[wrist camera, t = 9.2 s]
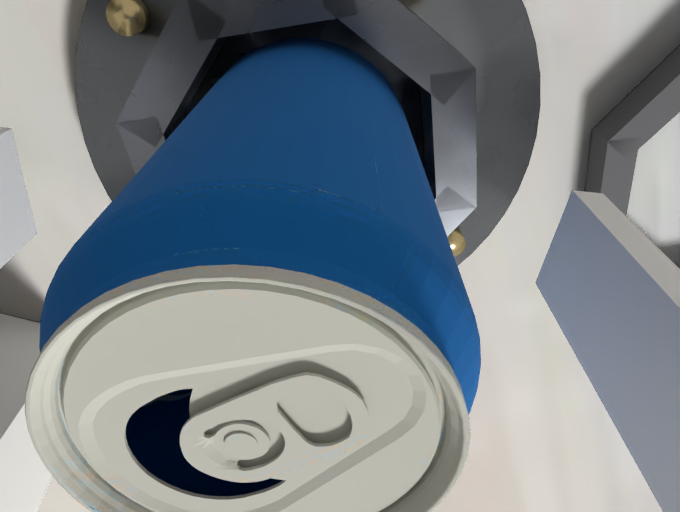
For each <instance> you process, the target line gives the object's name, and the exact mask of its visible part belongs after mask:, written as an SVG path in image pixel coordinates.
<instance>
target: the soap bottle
mask: <svg viewBox="0 0 680 512" xmlns="http://www.w3.org/2000/svg"><path fill="white" fill-rule="evenodd" d="M39 339H40V323H38V322H34V321H30V320H26V319H21V318H17V317H13V316H9V315H5V314H0V512H37V511H38V509H39V507H40V504H41V502H42V500H43V497H44V495H45V493H46V490H47V488H48V486H49V483H50V481H51V479H52V475H51V473H50V472H49V471H48V470H47V468H46V467H45V465H44V463H43V462H42V460H41V458H40V457H39V455H38V453H37V452H36V450H35V448H34V445H33V442H32V440H31V437H30V434H29V432H28V427H27V422H26V416H25V392H26V388H27V384H28V380H29V376H30V372H31V370H32V368H33V366H34V364H35V362H36V360H37V358H38V356H39V354H40V349H39Z"/></svg>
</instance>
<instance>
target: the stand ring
mask: <svg viewBox="0 0 680 512" xmlns="http://www.w3.org/2000/svg"><path fill="white" fill-rule="evenodd" d="M679 112H680V45H679V46H678V47H677V48H676V49H675V50H674V51H673V52H672V53H671V54H670V55H669V56H668V57H667V58H666V59H665V60H664V61H663V62H662V63H661V64H660V65H659V66H658V67H657V68H656V69H655V70H654V71H653V72H652V73H651V74H649V75H648V76H647V77H646V78H645V79H644V80H643V81H642V82H641V83H640V84H639V85H638V86H637V87H636V88H635V89H634V90H633V91H632V92H631V93H630V94H629V95H628V96H627V97H626V98H625V99H624V100H623V101H622V102H620V103H619V104H618V105H617V106H616V107H615V108H614V109H613V110H612V111H611V112H610V113H609V114H608V115H607V116H606V117H605V118H604V119H603V120H602V121H601V122H600V123H599V124H598V125H597V126H596V127H595V128H594V129H592V137H591V145H590V153H589V161H588V169H587V177H586V185H585V192H594V193H603V194H604V195H605V196H606V197H607V198H608V199H609V200H610V201H611V202H612V203H613V204H614V205H615V206H616V207H617V208H618V209H619V210H620V211H621V212H622V213H623V214H624V215H625V216H626V214H627V208H628V203H629V197H630V191H631V186H632V180H633V174H634V169H635V163H636V157H637V152H638V149H639V148H640V147H641V146H642V145H643V144H645V143H646V142H647V141H648V140H649V139H650V138H651V137H652V136H653V135H655V134H656V133H657V132H658V131H659V130H660V129H661V128H662V127H663V126H665V125H666V124H667V123H668V122H669V121H670V120H671V119H672V118H673V117H675V116H676V115H677V114H678V113H679Z"/></svg>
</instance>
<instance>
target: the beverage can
mask: <svg viewBox="0 0 680 512" xmlns="http://www.w3.org/2000/svg"><path fill="white" fill-rule="evenodd" d="M39 349H40V354H39V356H38V358H37V360H36V362H35V364H34V366H33V368H32V370H31V372H30V376H29V380H28V384H27V388H26V392H25V416H26V422H27V427H28V432H29V434H30V437H31V440H32V442H33V445H34V448H35V450H36V452H37V453H38V455H39V457H40V458H41V460H42V462H43V463H44V465H45V467H46V468H47V470H48V471H49V472H50V473H51V475H52V476H53V477H54V478H55V479H56V481H57V482H58V483H59V484H60V485H61V486H62V487H63V488H64V489H65V490H66V491H67V492H68V493H69V494H70V495H71V496H72V497H73V498H74V499H75V500H77V501H78V502H79V503H81V504H82V505H83V506H84V507H86V508H87V509H88V510H90V511H91V512H431V511H432V510H433V509H434V508H436V507H437V506H438V505H439V504H440V503H441V502H442V501H443V499H444V498H445V497H446V496H447V494H448V493H449V492H450V491H451V490H452V488H453V487H454V485H455V483H456V481H457V480H458V478H459V476H460V474H461V473H462V470H463V467H464V465H465V462H466V459H467V456H468V450H469V443H470V422H469V413H470V410H471V407H472V404H473V401H474V398H475V395H476V391H477V387H478V381H479V374H480V367H481V355H480V337H479V333H478V328H477V324H476V319H475V315H474V313H473V310H472V307H471V304H470V301H469V298H468V295H467V292H466V289H465V287H464V284H463V281H462V278H461V275H460V272H459V269H458V266H457V264H456V261H455V258H454V255H453V252H452V249H451V246H450V243H449V240H448V238H447V235H446V232H445V229H444V226H443V223H442V220H441V217H440V215H439V212H438V209H437V206H436V203H435V200H434V197H433V194H432V191H431V189H430V186H429V183H428V180H427V177H426V174H425V171H424V168H423V166H422V163H421V160H420V157H419V154H418V151H417V148H416V145H415V142H414V140H413V137H412V134H411V131H410V128H409V125H408V122H407V119H406V117H405V114H404V111H403V108H402V106H401V103H400V101H399V98H398V96H397V95H396V93H395V91H394V89H393V88H392V86H391V84H390V83H389V82H388V81H387V79H386V78H385V77H384V75H383V74H382V73H381V72H380V71H379V70H378V69H377V68H376V67H375V66H374V65H373V64H372V63H370V62H369V61H368V60H366V59H365V58H364V57H362V56H361V55H359V54H358V53H356V52H354V51H352V50H350V49H348V48H346V47H344V46H341V45H339V44H336V43H333V42H329V41H325V40H320V39H312V38H290V39H284V40H279V41H274V42H271V43H268V44H266V45H263V46H260V47H258V48H256V49H254V50H253V51H251V52H249V53H247V54H246V55H244V56H243V57H242V58H240V59H239V60H238V61H236V62H235V63H234V64H233V65H232V66H231V67H230V68H229V69H228V70H227V71H226V72H225V73H224V75H223V76H222V77H221V78H220V79H219V80H218V81H217V83H216V84H215V85H214V86H213V87H212V88H211V89H210V91H209V92H208V93H207V94H206V95H205V96H204V97H203V98H202V100H201V101H200V102H199V103H198V104H197V105H196V106H195V108H194V109H193V110H192V111H191V112H190V113H189V114H188V116H187V117H186V118H185V119H184V120H183V121H182V122H181V124H180V125H179V126H178V127H177V128H176V129H175V130H174V132H173V133H172V134H171V135H170V136H169V137H168V138H167V140H166V141H165V142H164V143H163V144H162V145H161V146H160V148H159V149H158V150H157V151H156V152H155V153H154V154H153V155H152V157H151V158H150V159H149V160H148V161H147V162H146V163H145V165H144V166H143V167H142V168H141V169H140V170H139V171H138V173H137V174H136V175H135V176H134V177H133V178H132V179H131V181H130V182H129V183H128V184H127V185H126V186H125V187H124V189H123V190H122V191H121V192H120V193H119V194H118V195H117V197H116V198H115V199H114V200H113V201H112V202H111V203H110V205H109V206H108V207H107V208H106V209H105V210H104V211H103V212H102V214H101V215H100V216H99V217H98V218H97V219H96V220H95V222H94V223H93V224H92V225H91V226H90V227H89V228H88V230H87V231H86V232H85V233H84V234H83V235H82V236H81V238H80V239H79V240H78V241H77V242H76V243H75V244H74V246H73V247H72V248H71V250H70V251H69V253H68V254H67V255H66V257H65V258H64V259H63V261H62V262H61V264H60V265H59V267H58V269H57V271H56V273H55V275H54V277H53V279H52V282H51V284H50V286H49V288H48V291H47V294H46V298H45V302H44V306H43V310H42V314H41V321H40V339H39Z"/></svg>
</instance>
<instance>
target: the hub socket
mask: <svg viewBox="0 0 680 512" xmlns="http://www.w3.org/2000/svg"><path fill="white" fill-rule="evenodd" d="M290 38H312V39H320V40H325V41H329V42H333V43H336V44H339V45H341V46H344V47H346V48H348V49H350V50H352V51H354V52H356V53H358V54H359V55H361V56H362V57H364V58H365V59H366V60H368V61H369V62H370V63H372V64H373V65H374V66H375V67H376V68H377V69H378V70H379V71H380V72H381V73H382V74H383V75H384V77H385V78H386V79H387V81H388V82H389V83H390V84H391V86H392V88H393V89H394V91H395V93H396V95H397V96H398V98H399V101H400V103H401V106H402V108H403V111H404V114H405V117H406V119H407V122H408V125H409V128H410V131H411V134H412V137H413V140H414V142H415V145H416V148H417V151H418V154H419V157H420V160H421V163H422V166H423V168H424V171H425V174H426V177H427V180H428V183H429V186H430V189H431V191H432V194H433V197H434V200H435V203H436V206H437V209H438V212H439V215H440V217H441V220H442V223H443V226H444V229H445V232H446V235H447V238H448V240H449V243H450V246H451V249H452V252H453V255H454V258H455V261H456V264H457V266H458V265H459V264H460V263H461V262H462V261H464V260H465V259H466V258H467V257H468V256H470V255H471V254H472V253H473V252H474V251H475V250H476V249H477V247H478V246H479V245H480V244H481V243H482V242H483V241H484V240H485V239H486V238H487V237H488V236H489V235H490V233H491V232H492V230H493V229H494V228H495V226H496V225H497V224H498V222H499V221H500V220H501V218H502V217H503V215H504V214H505V212H506V211H507V209H508V207H509V205H510V204H511V202H512V200H513V198H514V196H515V195H516V193H517V191H518V189H519V187H520V184H521V182H522V179H523V177H524V174H525V172H526V169H527V167H528V165H529V161H530V158H531V154H532V150H533V146H534V143H535V139H536V134H537V127H538V119H539V111H540V70H539V63H538V56H537V49H536V42H535V39H534V35H533V32H532V28H531V25H530V21H529V18H528V14H527V11H526V8H525V6H524V4H523V2H522V0H88V2H87V5H86V8H85V11H84V14H83V17H82V20H81V26H80V32H79V38H78V43H77V49H76V71H75V86H76V96H77V106H78V114H79V119H80V123H81V127H82V132H83V136H84V140H85V144H86V146H87V149H88V152H89V154H90V157H91V160H92V163H93V165H94V168H95V170H96V172H97V174H98V176H99V178H100V180H101V182H102V184H103V186H104V188H105V190H106V192H107V194H108V196H109V197H110V199H111V200H112V201H113V200H114V199H115V198H116V197H117V195H118V194H119V193H120V192H121V191H122V190H123V189H124V187H125V186H126V185H127V184H128V183H129V182H130V181H131V179H132V178H133V177H134V176H135V175H136V174H137V173H138V171H139V170H140V169H141V168H142V167H143V166H144V165H145V163H146V162H147V161H148V160H149V159H150V158H151V157H152V155H153V154H154V153H155V152H156V151H157V150H158V149H159V148H160V146H161V145H162V144H163V143H164V142H165V141H166V140H167V138H168V137H169V136H170V135H171V134H172V133H173V132H174V130H175V129H176V128H177V127H178V126H179V125H180V124H181V122H182V121H183V120H184V119H185V118H186V117H187V116H188V114H189V113H190V112H191V111H192V110H193V109H194V108H195V106H196V105H197V104H198V103H199V102H200V101H201V100H202V98H203V97H204V96H205V95H206V94H207V93H208V92H209V91H210V89H211V88H212V87H213V86H214V85H215V84H216V83H217V81H218V80H219V79H220V78H221V77H222V76H223V75H224V73H225V72H226V71H227V70H228V69H229V68H230V67H231V66H232V65H233V64H234V63H235V62H236V61H238V60H239V59H240V58H242V57H243V56H244V55H246V54H247V53H249V52H251V51H253V50H254V49H256V48H258V47H260V46H263V45H266V44H268V43H271V42H274V41H279V40H284V39H290Z"/></svg>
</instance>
